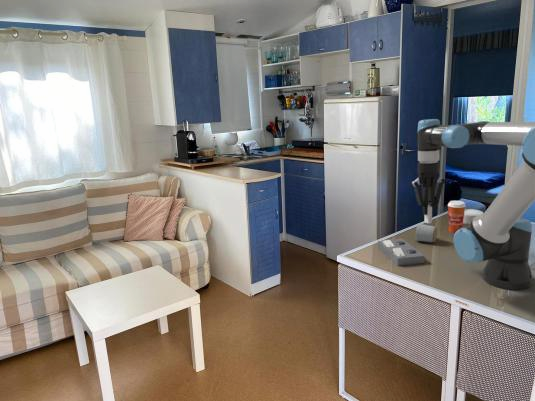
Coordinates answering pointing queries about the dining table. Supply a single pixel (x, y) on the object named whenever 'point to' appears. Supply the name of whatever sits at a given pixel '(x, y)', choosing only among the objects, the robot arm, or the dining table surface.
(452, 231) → the paper cup
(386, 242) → the rocker
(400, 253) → the rocker
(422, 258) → the rocker switch box
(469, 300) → the dining table surface
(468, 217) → the ramekin
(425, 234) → the ceramic mug
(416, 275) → the dining table surface
